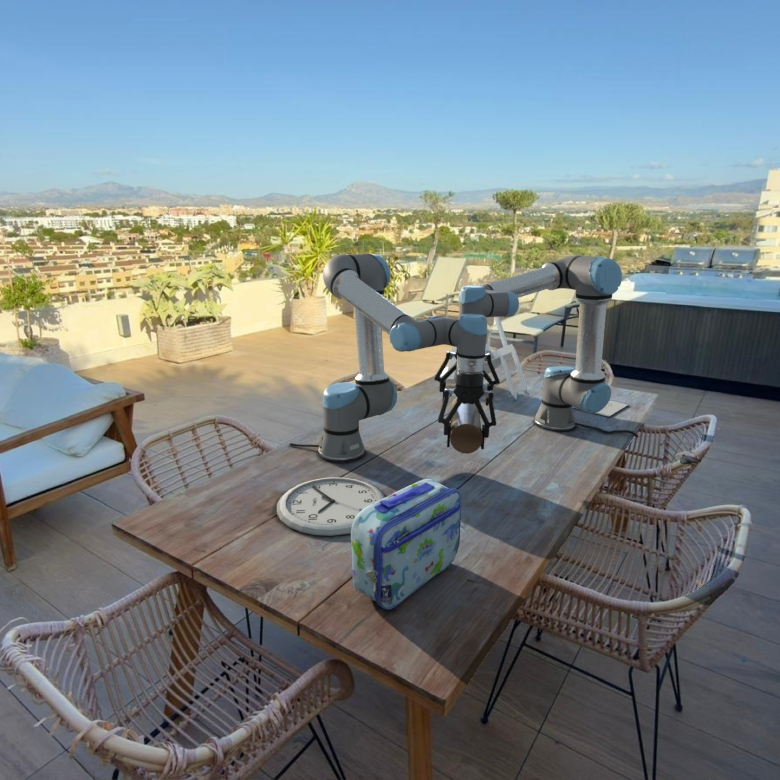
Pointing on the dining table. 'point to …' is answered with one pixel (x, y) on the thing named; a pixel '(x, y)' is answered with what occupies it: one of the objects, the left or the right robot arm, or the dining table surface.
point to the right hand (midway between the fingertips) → (465, 403)
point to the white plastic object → (496, 362)
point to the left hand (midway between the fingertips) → (465, 446)
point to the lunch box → (405, 541)
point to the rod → (466, 428)
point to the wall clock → (326, 505)
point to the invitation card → (611, 408)
